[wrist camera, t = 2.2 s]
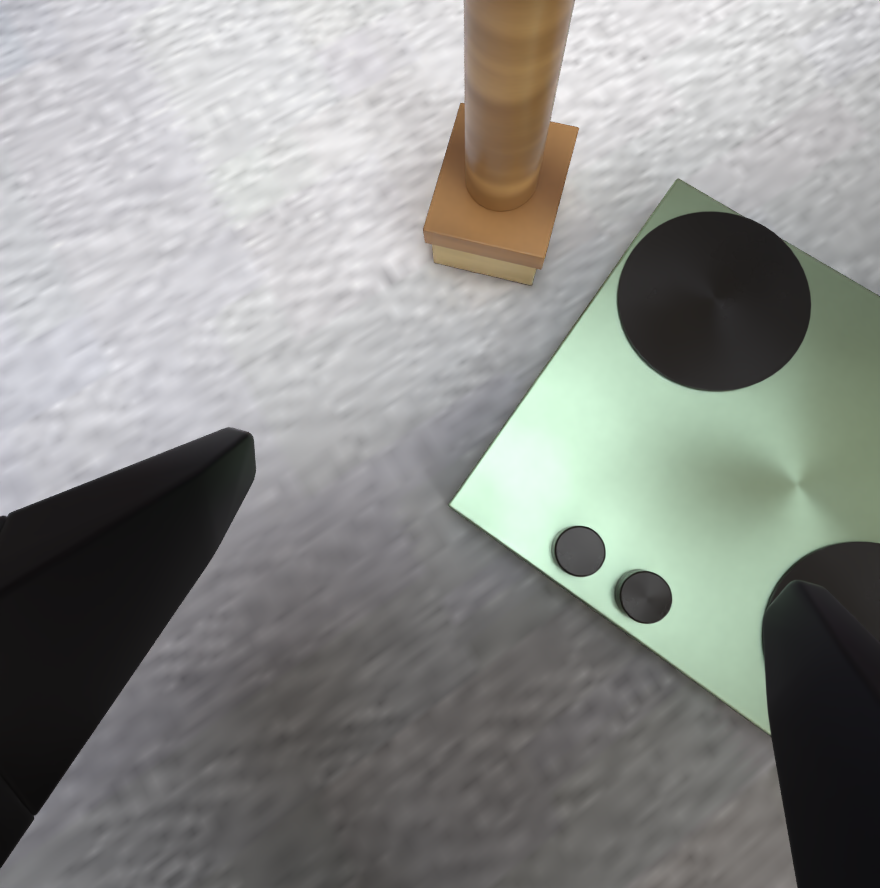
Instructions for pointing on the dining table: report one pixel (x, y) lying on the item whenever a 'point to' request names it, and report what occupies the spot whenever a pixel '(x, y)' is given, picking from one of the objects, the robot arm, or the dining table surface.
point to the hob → (700, 446)
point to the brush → (504, 142)
